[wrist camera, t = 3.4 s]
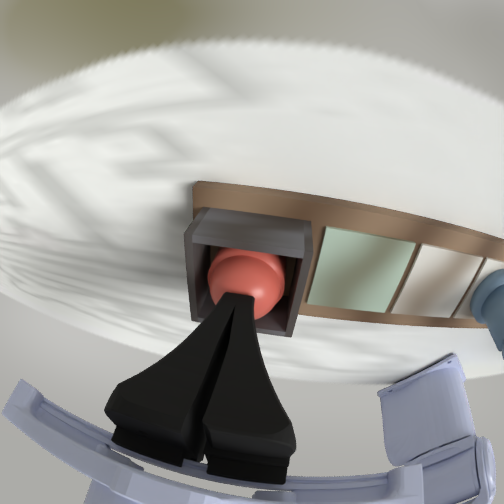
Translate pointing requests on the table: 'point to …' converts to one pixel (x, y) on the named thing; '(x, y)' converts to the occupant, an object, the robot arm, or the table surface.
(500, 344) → the pawn
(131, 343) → the table surface
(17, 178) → the table surface
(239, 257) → the dome
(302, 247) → the game board
